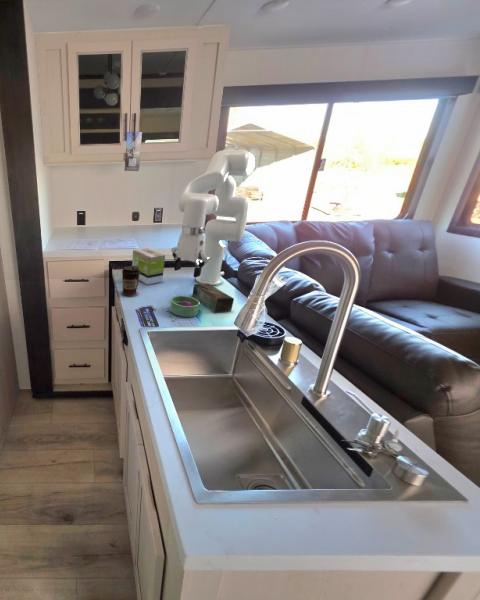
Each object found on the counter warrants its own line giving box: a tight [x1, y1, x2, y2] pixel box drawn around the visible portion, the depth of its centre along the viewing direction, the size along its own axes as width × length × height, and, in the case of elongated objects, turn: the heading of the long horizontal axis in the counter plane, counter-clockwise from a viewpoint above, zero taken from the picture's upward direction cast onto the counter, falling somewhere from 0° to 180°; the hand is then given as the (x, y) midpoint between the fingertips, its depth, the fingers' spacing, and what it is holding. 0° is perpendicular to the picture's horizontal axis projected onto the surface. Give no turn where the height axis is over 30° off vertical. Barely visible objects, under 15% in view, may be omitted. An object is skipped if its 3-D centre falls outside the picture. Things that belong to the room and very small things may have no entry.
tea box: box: [131, 247, 166, 286], centre depth 164 cm, size 15×10×15 cm, turn 25°
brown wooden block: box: [191, 282, 235, 313], centre depth 137 cm, size 8×19×7 cm, turn 11°
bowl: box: [169, 295, 201, 318], centre depth 129 cm, size 11×11×5 cm
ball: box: [181, 301, 191, 306], centre depth 129 cm, size 4×4×4 cm
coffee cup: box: [121, 265, 140, 297], centre depth 146 cm, size 9×8×13 cm
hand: (186, 273), depth 126 cm, fingers open, 9 cm apart
